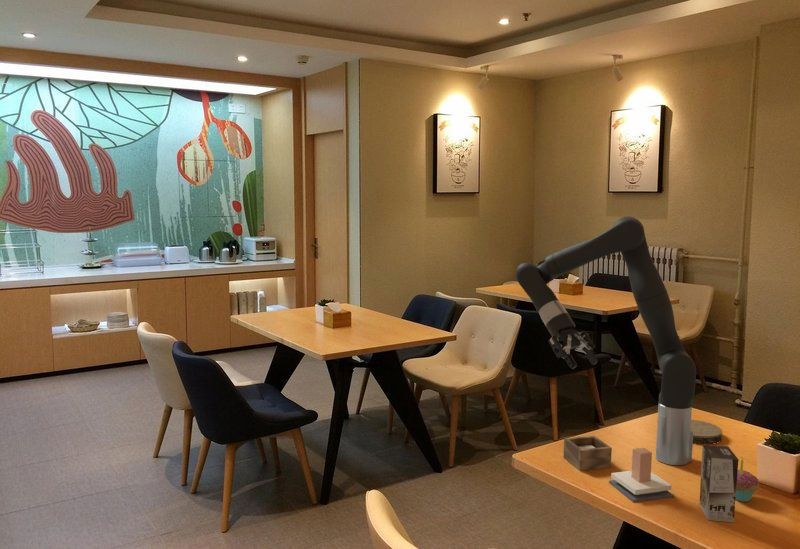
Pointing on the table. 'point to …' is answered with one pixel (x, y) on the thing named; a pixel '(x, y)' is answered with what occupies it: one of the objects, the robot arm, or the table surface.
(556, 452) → the table surface
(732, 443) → the table surface
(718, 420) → the table surface
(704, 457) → the coffee box
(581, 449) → the box
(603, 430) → the table surface
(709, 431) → the tin can
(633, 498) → the mat
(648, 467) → the lid
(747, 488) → the cupcake
